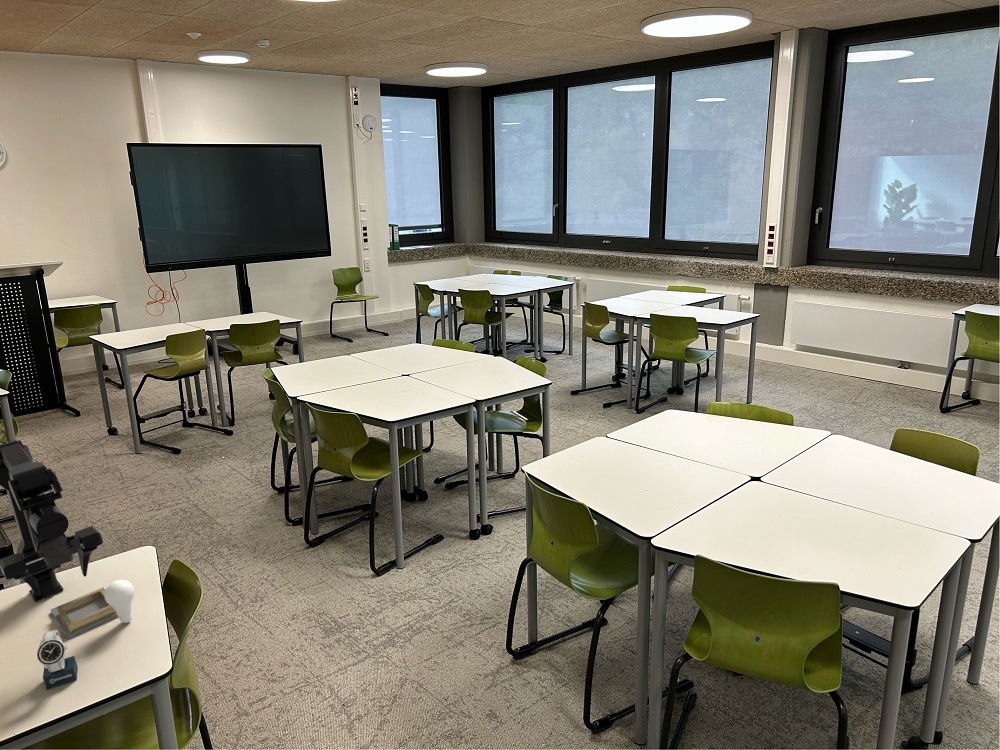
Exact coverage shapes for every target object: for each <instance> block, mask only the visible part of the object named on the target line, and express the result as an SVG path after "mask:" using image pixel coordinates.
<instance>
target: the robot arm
mask: <svg viewBox="0 0 1000 750" xmlns="http://www.w3.org/2000/svg"><path fill="white" fill-rule="evenodd" d="M0 487H2V488H3V489H4V490H6V492H7V497H8V499H9V503H10V506H11V509H12V514H13V516H14V520H15V523H16V526H17V529H18V533H19V536H20V542H19V543H18V545H17V548H16V553H13V554H11V555H8V556H5V557H3V558H0V571H1V574H3V576H4V578H5V580H12V579H13V580H15V581H18V580H22V581H23V582H25V583H26V584H27V585H28V586H29V587H30V590H29V591H28V592H29V594H30V597H31V598H32V600H33V601H34V602H35V603H37V602H39V601H41V600H45V599H47V598H49V597H51V596H54V595H57V594H60V593H61V591H62V592H63V591H64V587H63V586H62V585H61V583H60V581H59V580H58V578H57V574H56V572H55V570H56V569H58V568H62V565H63V564H67V563H70V562H72V561H73V559H74V554H77V555H78V560H79V565H80V570H81V573H82V576H83V577H84V578H85V577H87V574H88V567H89V562H90V557H91V555H92V553H93V552H94V551H95V550H97V549H98V546H101V545H102V544H103V543H104V540H103V536H102V534H101V532H100V531H99V530H98V529H97V528H96V527H94V526H93V525H91V526H88V527H86V528H83V529H79V530H76V531H75V532H74V534H73V535H70V536H69V535H67V536H66V534H65V533H66V532H67V530H68V528H69V519H68V517H67V516H66V514H64V513H63V512H62V511H61V509H60V508H59V506H57V505H56V500H60V499H62V498H63V496H62V492H63V488H62V486H61V484H60V482H59V479H58V477H57V474H56V472H55V471H53V469H51V467H49V468H47V466H46V465H45V464H44V463H42V462H40V461H34V458H33V456H32V453H31V451H30V449H29V445H26V444H23V443H22V440H20V439H18V440H17V439H14V440H11V441H8V442H4V443H1V444H0ZM49 491H50V492H49ZM46 492H47V493H46Z"/></svg>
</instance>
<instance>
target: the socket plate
mask: <svg viewBox="0 0 1000 750" xmlns="http://www.w3.org/2000/svg"><path fill="white" fill-rule="evenodd" d="M105 590H106V588H105V587H101V588H98V589H96V590H94V591H92V592H89V593H87V594H84V595H81V596H80V597H77V598H75V599H72V600H70V601H68V602H64V603H63V604H60V605H58V606H55V607H54V608H51V609H50V612H51V613H50V614H51V615H52V616H53V617H55V618H54V619H55V620H56V622H57V624H58V625H59V627H60V628H61V630H62V632H63V633H64V635H65V637H66V638H67V639H68V640H69V639H71V638H74V637H76V636H79V635H81V634H83V633H85V632H87V631H90V630H92V629H94V628H96V627H98V626H101V625H102V624H105V623H107V622H109V621H112V620H114V619H116V618H119V616H118V615H117V613H116V611H115V609H114V608H113V607H111V606H110V605H109V604H108V603H107V602H106V600H105V597H104V594H105Z"/></svg>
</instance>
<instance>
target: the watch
mask: <svg viewBox="0 0 1000 750" xmlns="http://www.w3.org/2000/svg"><path fill="white" fill-rule="evenodd" d="M68 649H69V648H68V645H67V644H66V645H65V644H64V643H63V639H62V638H61V635H60V632H59V630H58V629H55V630H51V631H48V632H44V633H43V635H42V640H40V641H39V645H38V649H37V652H36V658H37V661H39V663H41V665H42V666H43V674H42V680H43V684H44V686H45V688H46V689H45V690H50V689H53V688H56V687H59V686H62V685H66V684H68V683H71V682H75V681H78V672H79V671H78V670H79V666H78V663H77V660H76V655H73V656H69V657H66V658H65V656H66V654H65V653H66V650H68Z"/></svg>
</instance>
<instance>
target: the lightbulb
mask: <svg viewBox="0 0 1000 750" xmlns="http://www.w3.org/2000/svg"><path fill="white" fill-rule="evenodd" d="M134 595H135V587H134V586H133V584H132V583H131V582H130V581H128V580H126V579H117V580H114V581H113V582H111V583H109V584H108V585H107V587H106V588H105V594H104V597H105V600H106V602H107V603H108V604H109V605H110V606H111V607H113V608H114V609H115V611H116V613H117V615H118V619H119V622H120V623H123V624H128V623H129V622H131V620H132V619H133V615H132V601H133V598H134Z"/></svg>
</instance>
